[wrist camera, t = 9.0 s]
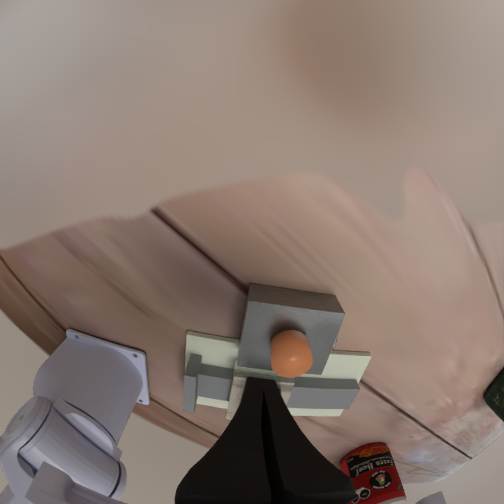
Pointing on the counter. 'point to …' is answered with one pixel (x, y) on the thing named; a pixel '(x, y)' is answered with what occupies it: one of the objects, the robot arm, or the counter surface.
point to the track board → (229, 357)
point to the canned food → (373, 475)
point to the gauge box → (287, 324)
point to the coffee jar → (496, 396)
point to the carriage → (243, 372)
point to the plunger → (290, 354)
